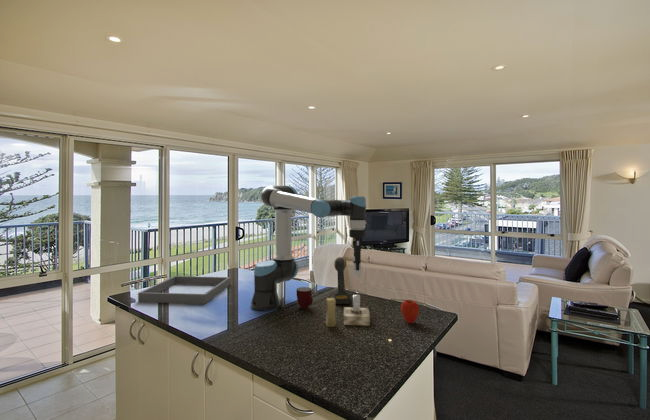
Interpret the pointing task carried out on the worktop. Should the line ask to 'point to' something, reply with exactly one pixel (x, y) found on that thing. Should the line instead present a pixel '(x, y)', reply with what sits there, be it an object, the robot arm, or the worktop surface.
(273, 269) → the robot arm
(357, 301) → the round bit
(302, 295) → the mug
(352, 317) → the bore block
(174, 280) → the frame
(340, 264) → the cordless drill
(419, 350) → the worktop surface
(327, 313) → the square bit
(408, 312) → the apple
